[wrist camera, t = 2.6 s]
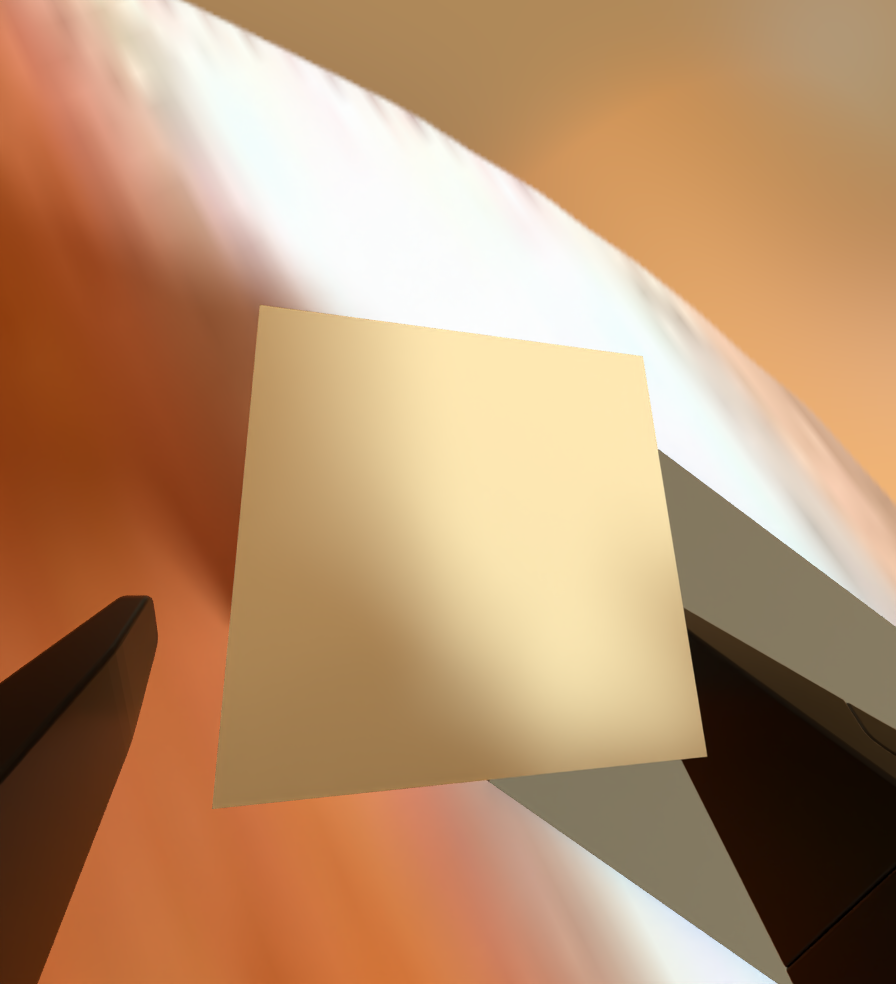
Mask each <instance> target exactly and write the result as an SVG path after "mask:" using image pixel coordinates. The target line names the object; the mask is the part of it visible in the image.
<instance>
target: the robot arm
mask: <svg viewBox="0 0 896 984" xmlns="http://www.w3.org/2000/svg"><path fill="white" fill-rule="evenodd" d="M683 609H684V616H685V622H686V628H687V634H688V640H689V647H690V653H691V659H692V665H693V671H694V677H695V684H696V690H697V696H698V702H699V708H700V715H701V721H702V727H703V733H704V739H705V746H706V752H707V757H699V758H689V759H681V761H682V763H683V765H684V767H685V769H686V771H687V773H688V775H689V777H690V779H691V781H692V783H693V785H694V787H695V789H696V791H697V793H698V795H699V797H700V799H701V801H702V803H703V805H704V807H705V809H706V811H707V813H708V815H709V817H710V819H711V821H712V823H713V825H714V827H715V829H716V831H717V833H718V835H719V837H720V839H721V841H722V843H723V845H724V847H725V849H726V851H727V853H728V855H729V857H730V859H731V861H732V863H733V865H734V867H735V869H736V871H737V873H738V875H739V877H740V879H741V881H742V883H743V885H744V887H745V889H746V891H747V893H748V895H749V897H750V899H751V901H752V903H753V905H754V907H755V909H756V911H757V913H758V915H759V917H760V919H761V921H762V923H763V925H764V927H765V929H766V931H767V933H768V935H769V937H770V939H771V941H772V943H773V945H774V947H775V949H776V951H777V953H778V955H779V957H780V959H781V961H782V963H783V965H784V966H785V967H787V968H786V972H787V974H788V976H789V978H790V980H791V982H792V984H896V729H894V728H892V727H891V726H889V725H887V724H885V723H884V722H882V721H880V720H878V719H876V718H875V717H873V716H871V715H869V714H868V713H866V712H864V711H862V710H861V709H859V708H857V707H856V706H854V705H852V704H850V703H846V702H845V701H844V700H843V699H842V698H840V697H838V696H836V695H835V694H833V693H831V692H829V691H828V690H826V689H824V688H822V687H821V686H819V685H817V684H816V683H814V682H812V681H810V680H809V679H807V678H805V677H803V676H802V675H800V674H798V673H796V672H795V671H793V670H791V669H790V668H788V667H786V666H784V665H783V664H781V663H779V662H777V661H776V660H774V659H772V658H770V657H769V656H767V655H765V654H764V653H762V652H760V651H758V650H757V649H755V648H753V647H751V646H750V645H748V644H746V643H744V642H743V641H741V640H739V639H738V638H736V637H734V636H732V635H731V634H729V633H727V632H725V631H724V630H722V629H720V628H718V627H717V626H715V625H713V624H712V623H710V622H708V621H706V620H705V619H703V618H701V617H699V616H698V615H696V614H694V613H692V612H691V611H689V610H687V609H686V608H684V607H683ZM157 641H158V632H157V625H156V617H155V610H154V603H153V600H152V598H151V597H149V596H122V597H120V598H118V599H116V600H115V601H114V602H112V603H111V604H109V605H108V606H107V607H105V608H104V609H103V610H101V611H100V612H98V613H97V614H96V615H94V616H93V617H91V618H90V619H89V620H87V621H86V622H84V623H83V624H82V625H80V626H79V627H77V628H76V629H75V630H73V631H72V632H70V633H69V634H68V635H66V636H65V637H63V638H62V639H61V640H59V641H58V642H57V643H55V644H54V645H52V646H51V647H50V648H48V649H47V650H45V651H44V652H43V653H41V654H40V655H38V656H37V657H36V658H34V659H33V660H31V661H30V662H29V663H27V664H26V665H24V666H23V667H22V668H20V669H19V670H17V671H16V672H15V673H13V674H12V675H11V676H9V677H8V678H6V679H5V680H4V681H2V682H1V683H0V984H38V981H39V979H40V976H41V974H42V971H43V968H44V966H45V963H46V961H47V958H48V956H49V953H50V950H51V948H52V945H53V943H54V940H55V938H56V935H57V933H58V930H59V927H60V925H61V922H62V920H63V917H64V915H65V912H66V909H67V907H68V904H69V902H70V899H71V897H72V894H73V892H74V889H75V886H76V884H77V881H78V879H79V876H80V874H81V871H82V868H83V866H84V863H85V861H86V858H87V856H88V853H89V851H90V848H91V845H92V843H93V840H94V838H95V835H96V833H97V830H98V827H99V825H100V822H101V820H102V817H103V815H104V812H105V810H106V807H107V804H108V802H109V799H110V797H111V794H112V792H113V789H114V786H115V784H116V781H117V779H118V776H119V774H120V771H121V769H122V766H123V763H124V761H125V758H126V756H127V753H128V750H129V747H130V745H131V742H132V739H133V735H134V732H135V728H136V725H137V721H138V717H139V713H140V710H141V706H142V702H143V698H144V694H145V690H146V687H147V683H148V679H149V675H150V671H151V667H152V664H153V660H154V656H155V652H156V648H157Z"/></svg>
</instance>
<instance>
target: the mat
mask: <svg viewBox="0 0 896 984" xmlns="http://www.w3.org/2000/svg"><path fill="white" fill-rule="evenodd" d="M658 455H659V461H660V467H661V473H662V479H663V486H664V492H665V498H666V504H667V510H668V517H669V523H670V529H671V535H672V541H673V548H674V554H675V560H676V566H677V572H678V578H679V585H680V591H681V597H682V603H683V607H684V608H686V609H687V610H689V611H691V612H692V613H694V614H696V615H698V616H699V617H701V618H703V619H705V620H706V621H708V622H710V623H712V624H713V625H715V626H717V627H718V628H720V629H722V630H724V631H725V632H727V633H729V634H731V635H732V636H734V637H736V638H738V639H739V640H741V641H743V642H744V643H746V644H748V645H750V646H751V647H753V648H755V649H757V650H758V651H760V652H762V653H764V654H765V655H767V656H769V657H770V658H772V659H774V660H776V661H777V662H779V663H781V664H783V665H784V666H786V667H788V668H790V669H791V670H793V671H795V672H796V673H798V674H800V675H802V676H803V677H805V678H807V679H809V680H810V681H812V682H814V683H816V684H817V685H819V686H821V687H822V688H824V689H826V690H828V691H829V692H831V693H833V694H835V695H836V696H838V697H840V698H842V699H843V700H844V701H845V702H846V703H850V704H852V705H854V706H856V707H857V708H859V709H861V710H862V711H864V712H866V713H868V714H869V715H871V716H873V717H875V718H876V719H878V720H880V721H882V722H884V723H885V724H887V725H889V726H891V727H892V728H894V729H896V627H895V626H894V625H892V624H891V623H890V622H888V621H887V620H886V619H884V618H883V617H882V616H880V615H879V614H878V613H876V612H875V611H874V610H872V609H871V608H870V607H868V606H867V605H866V604H864V603H863V602H862V601H860V600H859V599H858V598H856V597H855V596H854V595H852V594H851V593H850V592H848V591H847V590H846V589H844V588H843V587H842V586H840V585H839V584H838V583H836V582H835V581H834V580H832V579H831V578H830V577H828V576H827V575H826V574H824V573H823V572H822V571H820V570H819V569H818V568H816V567H815V566H814V565H812V564H811V563H810V562H808V561H807V560H806V559H804V558H803V557H802V556H800V555H799V554H798V553H796V552H795V551H794V550H792V549H791V548H790V547H788V546H787V545H786V544H784V543H783V542H782V541H780V540H779V539H778V538H776V537H775V536H774V535H772V534H771V533H770V532H768V531H767V530H766V529H764V528H763V527H762V526H760V525H759V524H758V523H756V522H755V521H754V520H752V519H751V518H750V517H748V516H747V515H746V514H744V513H743V512H742V511H740V510H739V509H738V508H736V507H735V506H734V505H732V504H731V503H730V502H728V501H727V500H726V499H724V498H723V497H721V496H720V495H719V494H717V493H716V492H715V491H713V490H712V489H711V488H709V487H708V486H707V485H705V484H704V483H703V482H701V481H700V480H699V479H697V478H696V477H695V476H693V475H692V474H691V473H689V472H688V471H687V470H685V469H684V468H683V467H681V466H680V465H679V464H677V463H676V462H675V461H673V460H672V459H671V458H669V457H668V456H667V455H665V454H664V453H663V452H661V451H660V450H659V449H658ZM487 781H489V782H490V783H492V784H493V785H494V786H496V787H497V788H499V789H500V790H502V791H503V792H504V793H506V794H507V795H509V796H510V797H512V798H513V799H514V800H516V801H517V802H519V803H520V804H522V805H523V806H524V807H526V808H527V809H529V810H530V811H532V812H533V813H535V814H536V815H537V816H539V817H540V818H542V819H543V820H545V821H546V822H547V823H549V824H550V825H552V826H553V827H555V828H556V829H557V830H559V831H560V832H562V833H563V834H565V835H566V836H567V837H569V838H570V839H572V840H573V841H575V842H576V843H577V844H579V845H580V846H582V847H583V848H585V849H586V850H587V851H589V852H590V853H592V854H593V855H595V856H596V857H597V858H599V859H600V860H602V861H603V862H605V863H606V864H607V865H609V866H610V867H612V868H613V869H615V870H616V871H617V872H619V873H620V874H622V875H623V876H625V877H626V878H627V879H629V880H630V881H632V882H633V883H635V884H636V885H637V886H639V887H640V888H642V889H643V890H645V891H646V892H647V893H649V894H650V895H652V896H653V897H655V898H656V899H657V900H659V901H660V902H662V903H663V904H665V905H666V906H667V907H669V908H670V909H672V910H673V911H675V912H676V913H677V914H679V915H680V916H682V917H683V918H685V919H686V920H687V921H689V922H690V923H692V924H693V925H695V926H696V927H697V928H699V929H700V930H702V931H703V932H705V933H706V934H707V935H709V936H710V937H712V938H713V939H715V940H716V941H718V942H719V943H720V944H722V945H723V946H725V947H726V948H728V949H729V950H730V951H732V952H733V953H735V954H736V955H738V956H739V957H740V958H742V959H743V960H745V961H746V962H748V963H749V964H750V965H752V966H753V967H755V968H756V969H758V970H759V971H760V972H762V973H763V974H765V975H766V976H768V977H769V978H770V979H772V980H773V981H775V982H776V983H778V984H792V982H791V980H790V978H789V976H788V974H787V972H786V968H787V967H785V966H784V965H783V963H782V961H781V959H780V957H779V955H778V953H777V951H776V949H775V947H774V945H773V943H772V941H771V939H770V937H769V935H768V933H767V931H766V929H765V927H764V925H763V923H762V921H761V919H760V917H759V915H758V913H757V911H756V909H755V907H754V905H753V903H752V901H751V899H750V897H749V895H748V893H747V891H746V889H745V887H744V885H743V883H742V881H741V879H740V877H739V875H738V873H737V871H736V869H735V867H734V865H733V863H732V861H731V859H730V857H729V855H728V853H727V851H726V849H725V847H724V845H723V843H722V841H721V839H720V837H719V835H718V833H717V831H716V829H715V827H714V825H713V823H712V821H711V819H710V817H709V815H708V813H707V811H706V809H705V807H704V805H703V803H702V801H701V799H700V797H699V795H698V793H697V791H696V789H695V787H694V785H693V783H692V781H691V779H690V777H689V775H688V773H687V771H686V769H685V767H684V765H683V763H682V761H681V759H680V760H670V761H661V762H651V763H642V764H632V765H623V766H614V767H604V768H595V769H585V770H576V771H566V772H557V773H547V774H538V775H528V776H519V777H510V778H500V779H491V780H487Z"/></svg>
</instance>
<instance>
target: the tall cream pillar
mask: <svg viewBox="0 0 896 984" xmlns="http://www.w3.org/2000/svg"><path fill="white" fill-rule="evenodd" d="M699 757H707V752H706V746H705V739H704V733H703V727H702V721H701V715H700V708H699V702H698V696H697V690H696V684H695V677H694V671H693V665H692V659H691V653H690V647H689V640H688V634H687V628H686V622H685V616H684V609H683V603H682V597H681V591H680V585H679V578H678V572H677V566H676V560H675V554H674V548H673V541H672V535H671V529H670V523H669V517H668V510H667V504H666V498H665V492H664V486H663V479H662V473H661V467H660V461H659V455H658V449H657V442H656V436H655V430H654V424H653V418H652V411H651V405H650V399H649V393H648V387H647V380H646V374H645V368H644V362H643V356H636V355H629V354H621V353H614V352H606V351H599V350H592V349H584V348H577V347H569V346H562V345H554V344H547V343H540V342H532V341H525V340H517V339H510V338H502V337H495V336H488V335H480V334H473V333H465V332H458V331H450V330H443V329H436V328H428V327H421V326H413V325H406V324H398V323H391V322H384V321H376V320H369V319H361V318H354V317H346V316H339V315H332V314H324V313H317V312H309V311H302V310H294V309H287V308H280V307H272V306H265V305H260V308H259V319H258V329H257V340H256V350H255V361H254V371H253V382H252V393H251V403H250V414H249V424H248V435H247V446H246V456H245V467H244V477H243V488H242V499H241V509H240V520H239V530H238V541H237V552H236V562H235V573H234V583H233V594H232V604H231V615H230V626H229V636H228V647H227V657H226V668H225V679H224V689H223V700H222V710H221V721H220V732H219V742H218V753H217V763H216V774H215V785H214V795H213V806H212V809H216V808H226V807H235V806H245V805H254V804H264V803H273V802H283V801H292V800H302V799H311V798H320V797H330V796H339V795H349V794H358V793H368V792H377V791H387V790H396V789H406V788H415V787H424V786H434V785H443V784H453V783H462V782H472V781H481V780H491V779H500V778H510V777H519V776H528V775H538V774H547V773H557V772H566V771H576V770H585V769H595V768H604V767H614V766H623V765H632V764H642V763H651V762H661V761H670V760H680V759H689V758H699Z"/></svg>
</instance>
